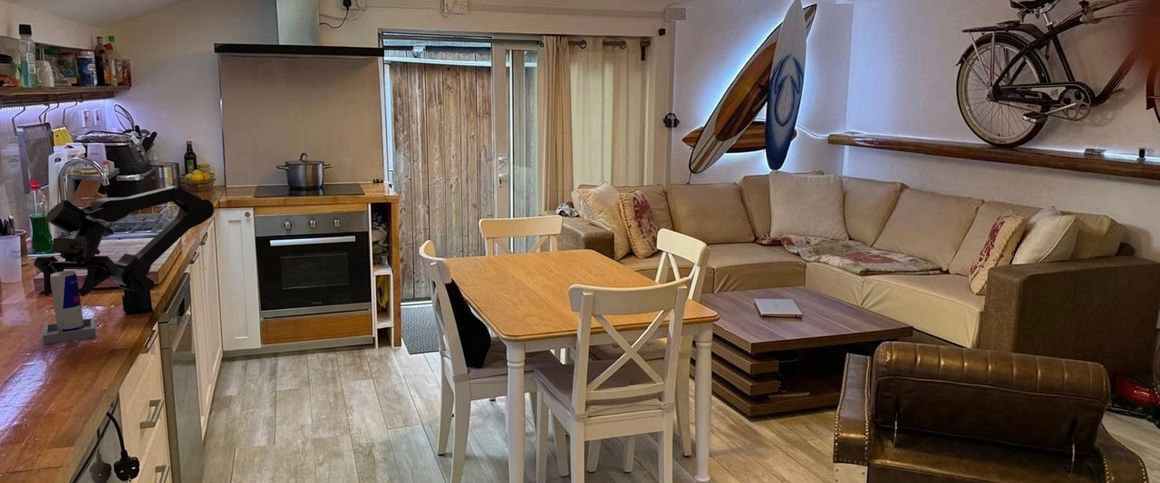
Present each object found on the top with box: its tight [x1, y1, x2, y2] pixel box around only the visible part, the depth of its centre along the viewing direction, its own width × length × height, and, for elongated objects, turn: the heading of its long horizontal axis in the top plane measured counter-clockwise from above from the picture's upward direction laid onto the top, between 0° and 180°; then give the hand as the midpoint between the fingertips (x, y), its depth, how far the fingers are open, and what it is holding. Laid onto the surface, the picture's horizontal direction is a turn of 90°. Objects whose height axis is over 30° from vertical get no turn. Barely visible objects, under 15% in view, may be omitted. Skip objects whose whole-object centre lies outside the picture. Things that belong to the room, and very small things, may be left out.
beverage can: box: [50, 270, 84, 333], centre depth 207 cm, size 6×6×15 cm
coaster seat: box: [42, 317, 97, 345], centre depth 208 cm, size 11×11×2 cm
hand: (63, 295), depth 206 cm, fingers open, 9 cm apart
